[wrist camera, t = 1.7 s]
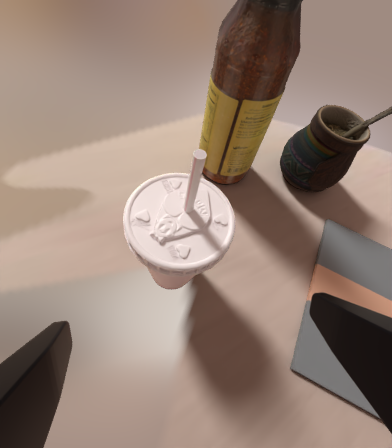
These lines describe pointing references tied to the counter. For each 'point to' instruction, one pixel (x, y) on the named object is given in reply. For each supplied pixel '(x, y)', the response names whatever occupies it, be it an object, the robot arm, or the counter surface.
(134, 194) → the smoothie
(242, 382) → the counter surface
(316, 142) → the mate gourd
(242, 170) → the sauce bottle
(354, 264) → the slate board
